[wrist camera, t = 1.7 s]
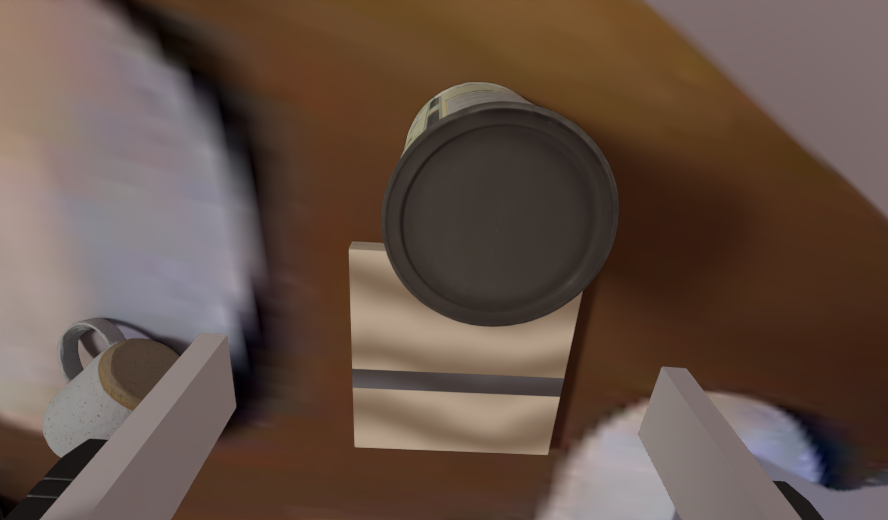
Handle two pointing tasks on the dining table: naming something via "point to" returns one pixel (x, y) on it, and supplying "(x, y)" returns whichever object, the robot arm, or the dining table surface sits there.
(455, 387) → the plywood board
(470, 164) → the coffee can
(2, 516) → the french press
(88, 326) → the ceramic mug
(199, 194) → the dining table surface
